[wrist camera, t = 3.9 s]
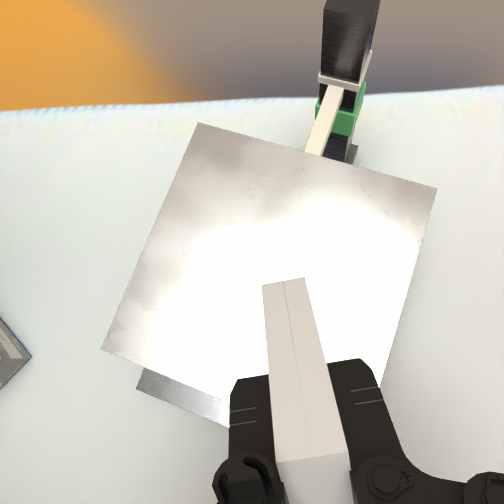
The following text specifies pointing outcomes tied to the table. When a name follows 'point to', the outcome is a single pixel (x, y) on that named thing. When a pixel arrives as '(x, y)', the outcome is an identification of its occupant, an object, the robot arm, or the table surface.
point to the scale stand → (337, 148)
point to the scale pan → (269, 256)
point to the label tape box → (10, 354)
